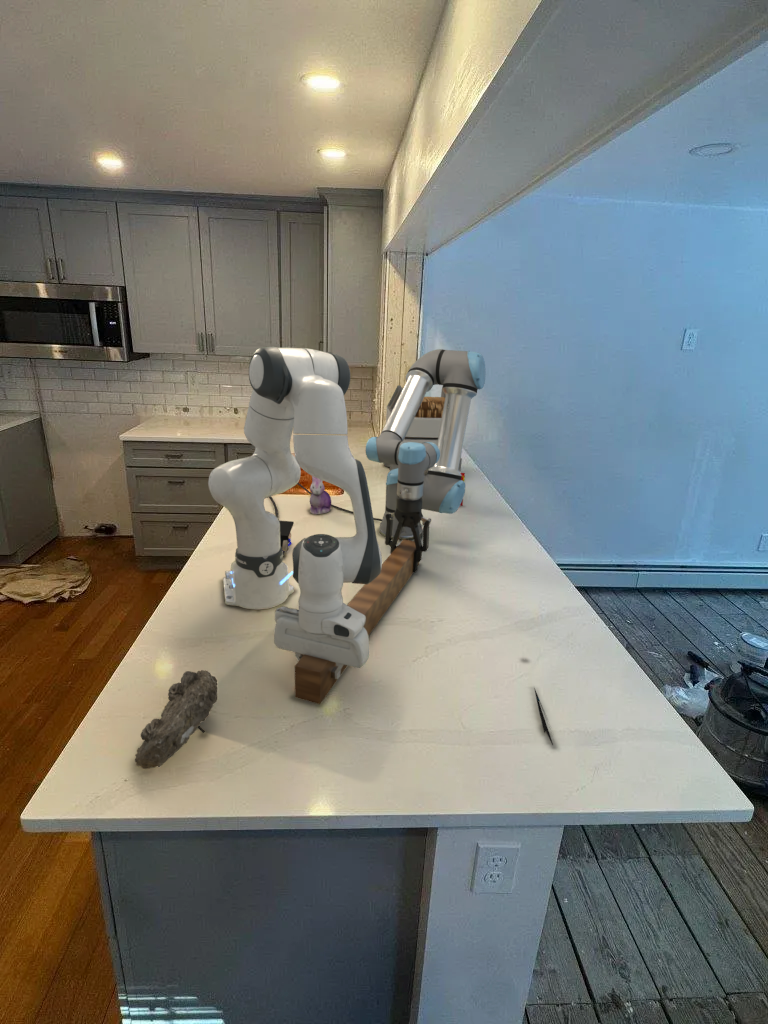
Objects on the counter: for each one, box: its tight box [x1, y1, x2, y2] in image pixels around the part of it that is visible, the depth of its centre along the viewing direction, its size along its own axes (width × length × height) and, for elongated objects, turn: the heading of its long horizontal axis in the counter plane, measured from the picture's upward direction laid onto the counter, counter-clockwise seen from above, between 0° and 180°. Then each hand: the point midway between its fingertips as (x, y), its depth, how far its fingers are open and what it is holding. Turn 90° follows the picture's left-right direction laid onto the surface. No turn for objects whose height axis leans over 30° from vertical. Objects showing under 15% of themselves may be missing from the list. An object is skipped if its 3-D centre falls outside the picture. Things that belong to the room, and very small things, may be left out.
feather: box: [524, 658, 554, 746], centre depth 117 cm, size 2×28×2 cm
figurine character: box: [279, 520, 295, 556], centre depth 182 cm, size 7×8×15 cm
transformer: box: [382, 384, 463, 473], centre depth 268 cm, size 34×33×41 cm
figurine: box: [309, 476, 332, 515], centre depth 216 cm, size 9×10×15 cm
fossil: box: [134, 669, 218, 770], centre depth 103 cm, size 22×10×15 cm
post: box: [294, 539, 420, 705], centre depth 144 cm, size 72×6×8 cm, turn 161°
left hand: (320, 673), depth 118 cm, fingers closed on post, 5 cm apart
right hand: (405, 568), depth 172 cm, fingers closed on post, 6 cm apart
